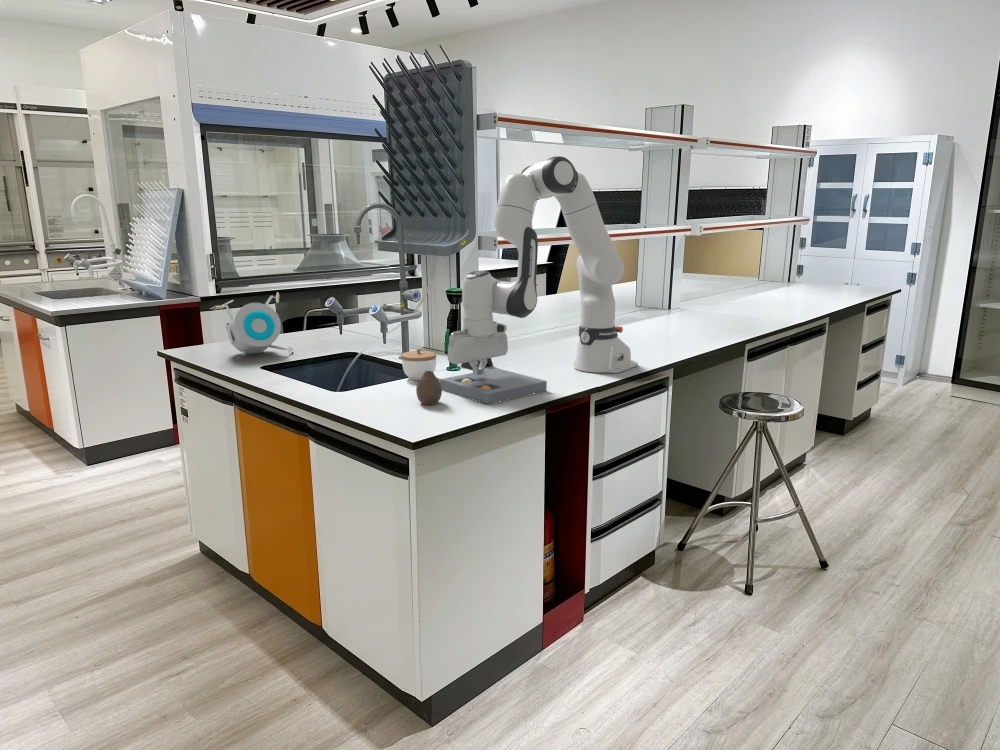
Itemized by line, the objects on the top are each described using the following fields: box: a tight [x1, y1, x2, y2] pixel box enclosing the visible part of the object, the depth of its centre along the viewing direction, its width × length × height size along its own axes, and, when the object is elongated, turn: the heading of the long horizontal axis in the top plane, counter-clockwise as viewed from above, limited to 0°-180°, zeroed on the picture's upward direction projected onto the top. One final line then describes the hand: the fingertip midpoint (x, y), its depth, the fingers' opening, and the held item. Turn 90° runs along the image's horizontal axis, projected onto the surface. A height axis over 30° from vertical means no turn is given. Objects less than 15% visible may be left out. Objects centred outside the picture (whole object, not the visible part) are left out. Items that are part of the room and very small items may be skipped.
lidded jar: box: [400, 348, 437, 381], centre depth 215 cm, size 11×11×9 cm
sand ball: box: [461, 378, 472, 384], centre depth 202 cm, size 4×4×4 cm
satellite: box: [209, 291, 294, 359], centre depth 249 cm, size 23×20×25 cm
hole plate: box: [439, 367, 548, 405], centre depth 202 cm, size 22×22×3 cm
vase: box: [415, 371, 443, 406], centre depth 188 cm, size 7×7×9 cm
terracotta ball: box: [481, 385, 491, 390], centre depth 194 cm, size 4×4×4 cm
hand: (478, 374), depth 204 cm, fingers closed
